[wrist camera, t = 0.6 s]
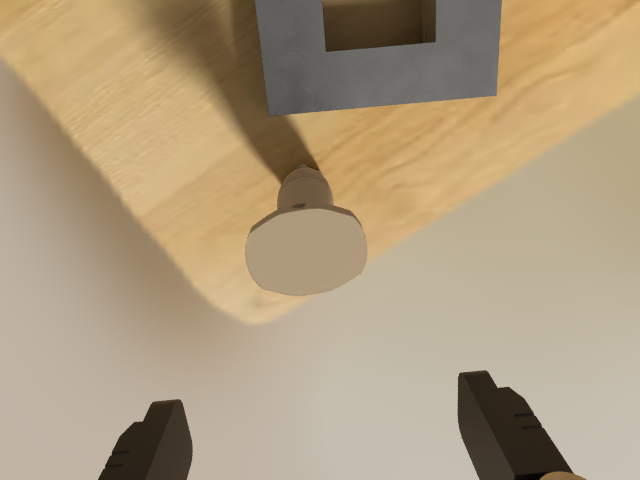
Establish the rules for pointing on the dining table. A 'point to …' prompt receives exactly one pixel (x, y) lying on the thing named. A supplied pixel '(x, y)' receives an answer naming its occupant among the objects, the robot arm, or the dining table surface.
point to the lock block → (377, 58)
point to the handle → (305, 240)
